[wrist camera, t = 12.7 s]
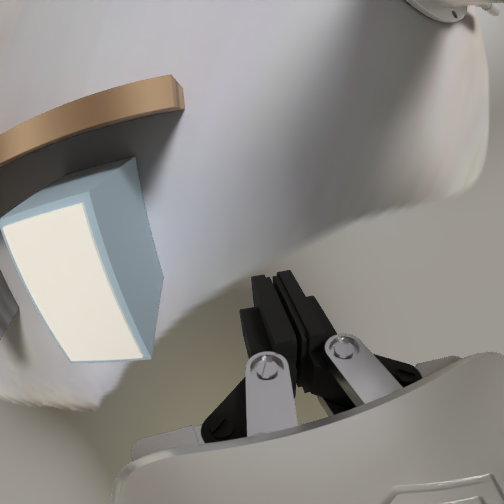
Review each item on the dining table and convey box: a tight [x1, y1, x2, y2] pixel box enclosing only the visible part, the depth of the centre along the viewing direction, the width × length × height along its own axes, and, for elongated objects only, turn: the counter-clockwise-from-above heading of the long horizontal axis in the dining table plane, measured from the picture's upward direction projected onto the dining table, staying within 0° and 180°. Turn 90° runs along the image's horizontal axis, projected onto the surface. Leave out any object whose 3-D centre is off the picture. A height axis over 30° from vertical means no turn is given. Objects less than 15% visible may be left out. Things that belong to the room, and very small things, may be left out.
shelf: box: [0, 75, 185, 340], centre depth 14 cm, size 28×16×10 cm, turn 95°
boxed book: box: [0, 157, 164, 363], centre depth 16 cm, size 6×10×9 cm, turn 5°
